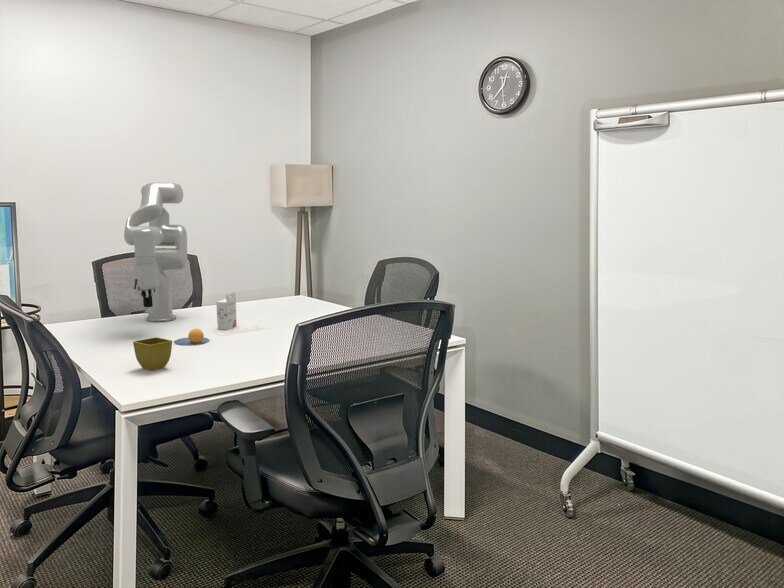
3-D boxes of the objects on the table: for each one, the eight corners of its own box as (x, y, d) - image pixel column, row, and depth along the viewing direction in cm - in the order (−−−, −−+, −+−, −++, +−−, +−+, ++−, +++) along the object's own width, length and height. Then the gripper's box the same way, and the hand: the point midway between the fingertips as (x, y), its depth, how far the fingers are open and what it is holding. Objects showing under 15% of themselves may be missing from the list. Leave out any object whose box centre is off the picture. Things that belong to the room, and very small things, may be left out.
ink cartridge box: (226, 325, 271) (225, 291, 268) (236, 326, 270) (236, 291, 268) (216, 329, 262) (215, 294, 260) (227, 330, 262) (226, 294, 259)
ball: (197, 337, 233) (191, 347, 236) (208, 335, 238) (202, 345, 240) (189, 326, 235) (183, 336, 237) (201, 324, 240) (194, 334, 242)
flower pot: (157, 363, 210) (156, 336, 208) (174, 367, 205) (172, 340, 203) (133, 368, 203) (132, 341, 201) (150, 373, 198) (148, 345, 196)
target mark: (166, 342, 238) (166, 342, 238) (190, 336, 249) (190, 335, 249) (192, 346, 232) (192, 346, 232) (216, 339, 244) (216, 339, 244)
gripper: (153, 257, 254) (155, 302, 257) (122, 262, 241) (125, 309, 244) (167, 259, 251) (169, 304, 254) (137, 263, 238) (140, 311, 241)
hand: (148, 306), depth 249 cm, fingers closed
